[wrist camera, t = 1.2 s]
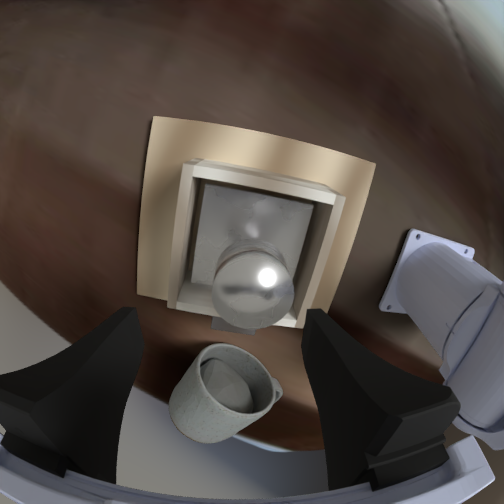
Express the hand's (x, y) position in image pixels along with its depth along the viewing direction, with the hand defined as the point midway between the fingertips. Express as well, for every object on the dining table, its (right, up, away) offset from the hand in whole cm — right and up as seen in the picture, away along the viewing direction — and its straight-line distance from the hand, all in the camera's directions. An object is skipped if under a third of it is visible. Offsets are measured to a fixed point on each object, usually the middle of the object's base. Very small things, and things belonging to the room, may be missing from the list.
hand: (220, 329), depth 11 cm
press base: (+1, +5, +9) cm, 11 cm away
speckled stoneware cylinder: (-1, -9, +16) cm, 18 cm away
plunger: (+1, +4, +8) cm, 9 cm away
